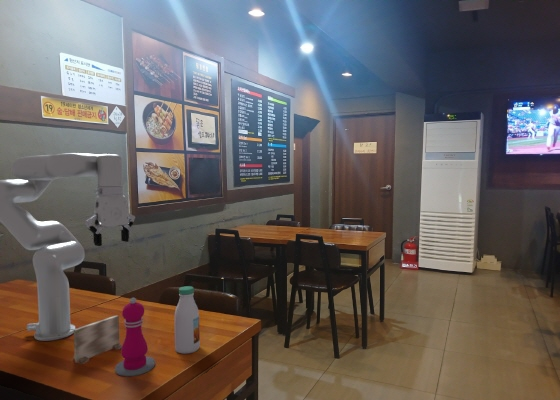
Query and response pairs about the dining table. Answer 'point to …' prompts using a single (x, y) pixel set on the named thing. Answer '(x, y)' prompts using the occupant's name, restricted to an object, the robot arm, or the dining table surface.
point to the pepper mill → (133, 336)
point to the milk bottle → (186, 322)
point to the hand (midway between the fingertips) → (112, 243)
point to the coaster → (125, 372)
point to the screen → (96, 339)
